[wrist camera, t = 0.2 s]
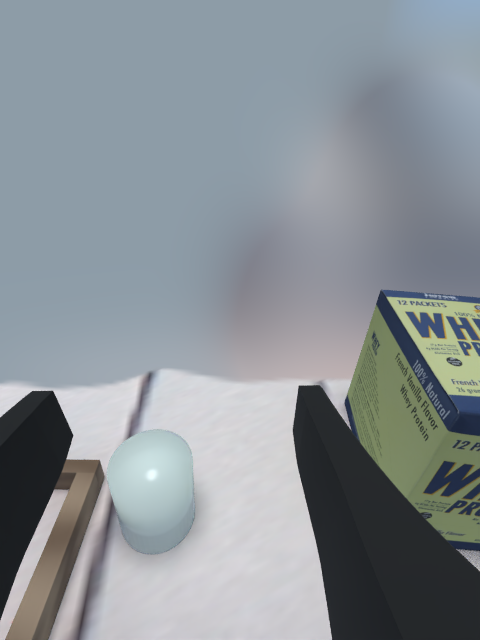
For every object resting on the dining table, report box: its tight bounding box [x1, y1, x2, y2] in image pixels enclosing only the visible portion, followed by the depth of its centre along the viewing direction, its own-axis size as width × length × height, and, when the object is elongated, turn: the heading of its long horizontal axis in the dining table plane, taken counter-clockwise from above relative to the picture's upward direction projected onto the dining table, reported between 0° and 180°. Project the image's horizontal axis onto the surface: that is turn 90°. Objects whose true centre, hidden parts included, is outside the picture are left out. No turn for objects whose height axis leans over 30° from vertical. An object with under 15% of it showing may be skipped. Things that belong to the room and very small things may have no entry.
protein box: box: [345, 290, 480, 551], centre depth 29 cm, size 10×16×16 cm
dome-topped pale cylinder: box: [107, 430, 195, 554], centre depth 26 cm, size 6×6×7 cm
